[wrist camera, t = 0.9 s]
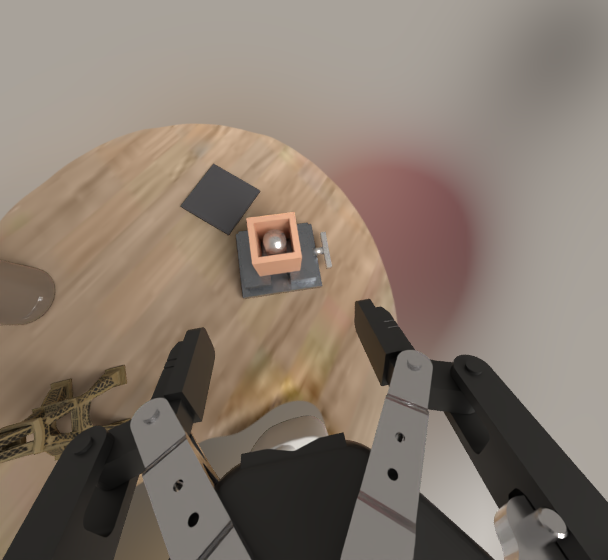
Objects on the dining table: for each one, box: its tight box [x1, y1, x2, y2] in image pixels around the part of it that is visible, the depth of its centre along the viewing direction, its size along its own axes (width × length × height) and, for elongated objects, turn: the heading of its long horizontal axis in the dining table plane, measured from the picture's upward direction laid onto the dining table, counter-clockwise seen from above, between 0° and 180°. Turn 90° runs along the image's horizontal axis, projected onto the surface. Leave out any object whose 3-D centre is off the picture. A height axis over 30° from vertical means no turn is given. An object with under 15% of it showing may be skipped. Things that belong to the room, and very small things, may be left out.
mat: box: [181, 164, 260, 235], centre depth 43 cm, size 10×10×1 cm
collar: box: [246, 212, 302, 276], centre depth 34 cm, size 6×6×7 cm
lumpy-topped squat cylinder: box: [251, 416, 328, 452], centre depth 31 cm, size 10×13×9 cm
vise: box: [236, 223, 332, 299], centre depth 36 cm, size 15×11×10 cm
